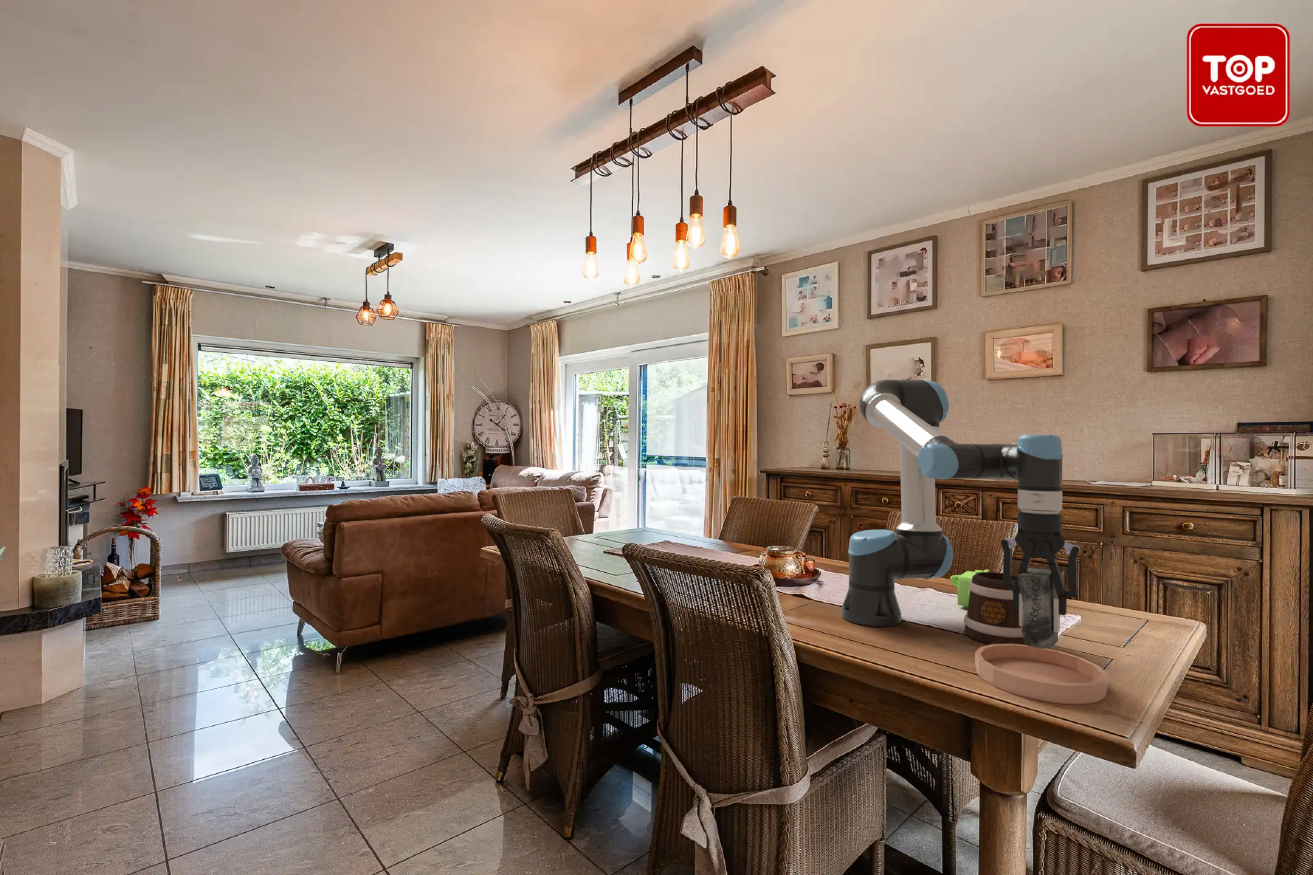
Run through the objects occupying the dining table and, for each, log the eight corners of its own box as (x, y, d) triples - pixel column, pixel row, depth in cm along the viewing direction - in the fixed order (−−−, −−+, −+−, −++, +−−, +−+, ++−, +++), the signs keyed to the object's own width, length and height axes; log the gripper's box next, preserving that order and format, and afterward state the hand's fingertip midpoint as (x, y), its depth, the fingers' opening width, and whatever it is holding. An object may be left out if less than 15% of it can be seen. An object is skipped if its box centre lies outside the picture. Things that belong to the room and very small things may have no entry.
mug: (958, 640, 145) (959, 577, 145) (968, 624, 157) (968, 566, 157) (1058, 658, 133) (1058, 590, 133) (1060, 639, 146) (1060, 577, 146)
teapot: (970, 615, 165) (970, 576, 165) (940, 602, 178) (940, 566, 178) (1020, 613, 167) (1020, 575, 167) (987, 600, 181) (987, 565, 181)
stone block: (1021, 647, 119) (1052, 652, 115) (1015, 573, 120) (1046, 575, 116) (1031, 637, 125) (1061, 641, 122) (1026, 567, 126) (1055, 569, 123)
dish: (964, 682, 120) (964, 664, 120) (988, 652, 136) (988, 636, 136) (1102, 715, 105) (1102, 695, 105) (1110, 677, 122) (1110, 660, 122)
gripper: (984, 509, 124) (984, 622, 124) (1094, 516, 112) (1093, 642, 112) (992, 506, 130) (992, 614, 129) (1097, 513, 118) (1096, 632, 118)
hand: (1039, 627), depth 121 cm, fingers closed on stone block, 5 cm apart
